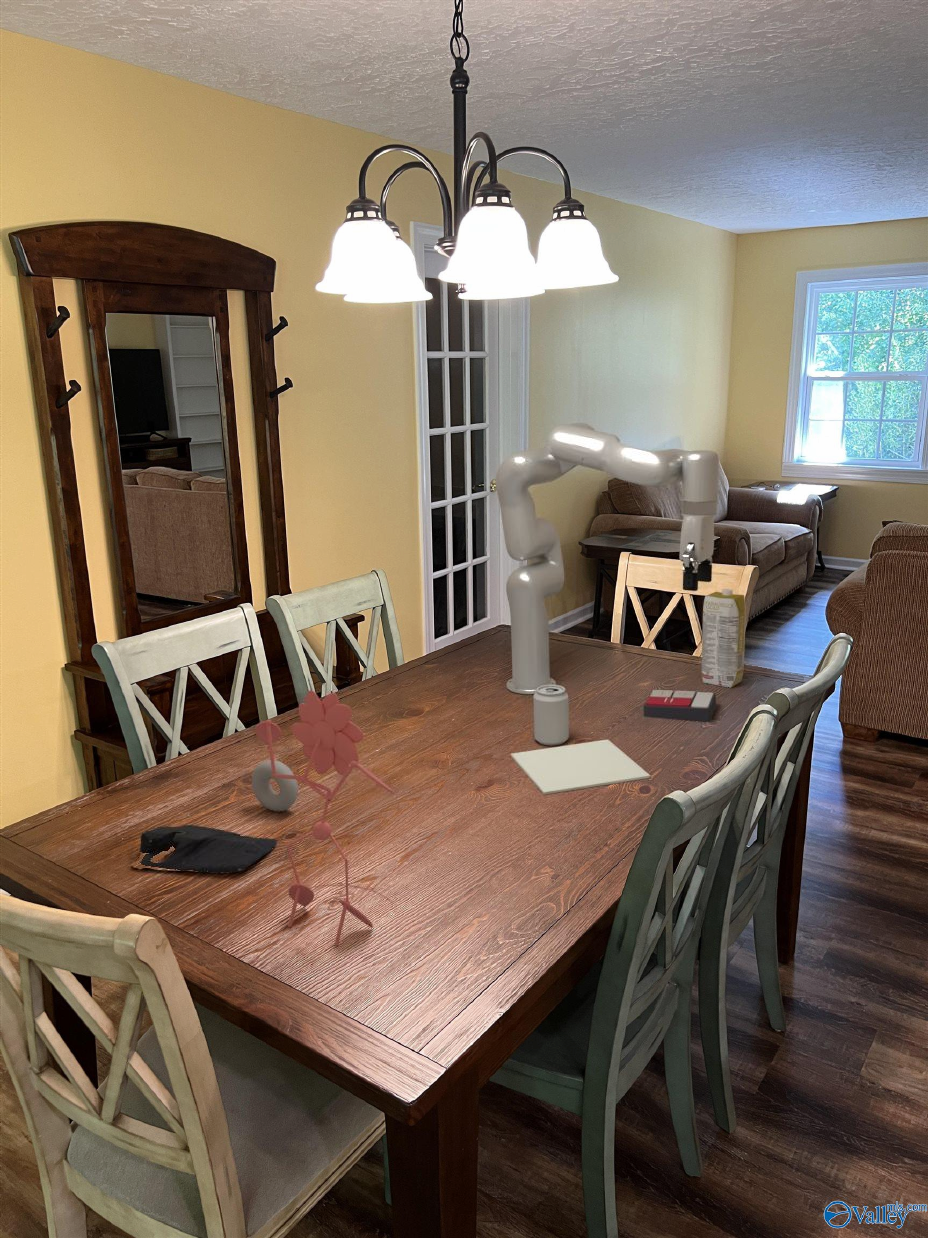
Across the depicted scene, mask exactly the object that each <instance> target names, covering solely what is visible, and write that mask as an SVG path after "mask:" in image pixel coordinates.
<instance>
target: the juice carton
mask: <svg viewBox="0 0 928 1238" xmlns="http://www.w3.org/2000/svg"><path fill="white" fill-rule="evenodd" d="M733 592H734V591H733V589H729V588H728V589H727V588H723V589H722V590H721V591H714V592H712V593H709V594H707V595H705V597H704V600H703V607H702V608H703V609H702V633H701V634H702V636H701V637H702V640H701V641H702V642H701V644H702V645H701V646H702V647H701V675H702V676H701V677H702V683H704V684H707V683H708V684H707V685H713V686H717V687H719V686H720V687H724V688H728V687H729V688H733V687H735V686H736V685H738V684H739V683H741V681H742V679H743V676H744V675H743V674H744V669H745V668H744V664H745V645H746V644H745V639H746V638H745V637H746V617H747V615H746V614H747V613H746V612H747V611H746V610H747V609H746V608H747V607H746V599H745V595H744V594H737V593H736V594H733Z"/></svg>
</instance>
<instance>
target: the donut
mask: <svg viewBox="0 0 928 1238" xmlns="http://www.w3.org/2000/svg"><path fill="white" fill-rule="evenodd" d="M274 762H275V771H276V773H275V774H283V775H294V776H295V774H294V773H293V771H292V770H291V769H290V767H289V766H287V765H286V764H285V763H284V762H282V761H279V760H277V759H274ZM273 775H274V774H272V769H271V760H270V759H267V760H265V761H262V762H259V764H258V765H257V766H255V768H254V770H253V772H252V775H251V786H252V792H253V795H254V796H255V798H256V799H257V801H258V802H259V803H260V805H262V806H263V807H264V808H265V809H267V810H269V809H270V811H272V810H274V811H273V812H280V811H282V812H284V811H286V810H289V809H290V808H291V807H293V805H294V804H295V803H296V801H297V799H298V796H299V784H298V780H296V779H285V778H273ZM271 779H273V780H274V781H276V783H277V785H278V787H279V793H278V792H276V791H275V790H274V789H273V788H272V786H271V783H270V781H271Z"/></svg>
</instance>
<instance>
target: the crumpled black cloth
mask: <svg viewBox="0 0 928 1238" xmlns="http://www.w3.org/2000/svg"><path fill="white" fill-rule="evenodd" d="M240 835H242V834H240V833H237V832H233V831H227V830H223V829H219V828H214V827H213V828H212V827H207V826H202V825H199V826H198V825H193V824H186V825H182V826H181V825H180V826H158V827H156V828H153V829H151V830H146V831H145V832H142V833H141V834H140V846H139V847H140V848H139V853H140V852H142V853H149V854H146V855H145V856H144V857H143V859H142V861H141V862H140V863H141V864H142V865H145V866H151V867H159V868H166V869H175V870H176V869H177V870H193V871H202V872H205V873H209V872H217V873H216V874H222V873H221V872H225V873H224V874H227V873H226V872H230V873H239V872H243V871H245V870H246V869H247V868H249V866H252V865H253V864H254V863H256V861H258V860H260V859H261V857H264V856H266V855H267V854H269V853H270V852H271V851H272V850H273V849H272V848H274V847H275V848H276V847H277V842H276V841H278V840H277V839H276V838H269V837H267V838H265V837H263V838H262V837H254V838H253V836H248V835H243V836H240ZM172 846H173V847H174V848H175V850H174V851H173V852H171V853H170V854H169V858H168V859H166V860H163V861H159V862H158V863H153V862H151V861H150V860H151V858H153V856H155V855H157V854H159V853H160V852H162V851H168V850H169V849H170V847H172ZM275 848H274V849H275ZM207 871H208V872H207Z"/></svg>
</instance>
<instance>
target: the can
mask: <svg viewBox="0 0 928 1238" xmlns="http://www.w3.org/2000/svg"><path fill="white" fill-rule="evenodd" d="M536 691H537V692H536V693H535V694H533V695H532V696H533V697H532V698H533V727H534V729H533V730H534V731H533V732H534V733H533V735H534V740H536V741H537V742H538V743H539V744H541V745H543V746H554V747H555V746H559V745H562V744H564V743H565V742H566V741H567V740H568V739H570V738H569V737H570V723H569V722H570V721H569V720H570V719H569V718H570V715H569V713H570V711H569V709H570V708H569V706H570V705H569V694H568V693H567V692H566V688H565V687H564V686H562V685H558V684H556V685H543V686H540V687H538V688H537V689H536Z"/></svg>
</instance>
